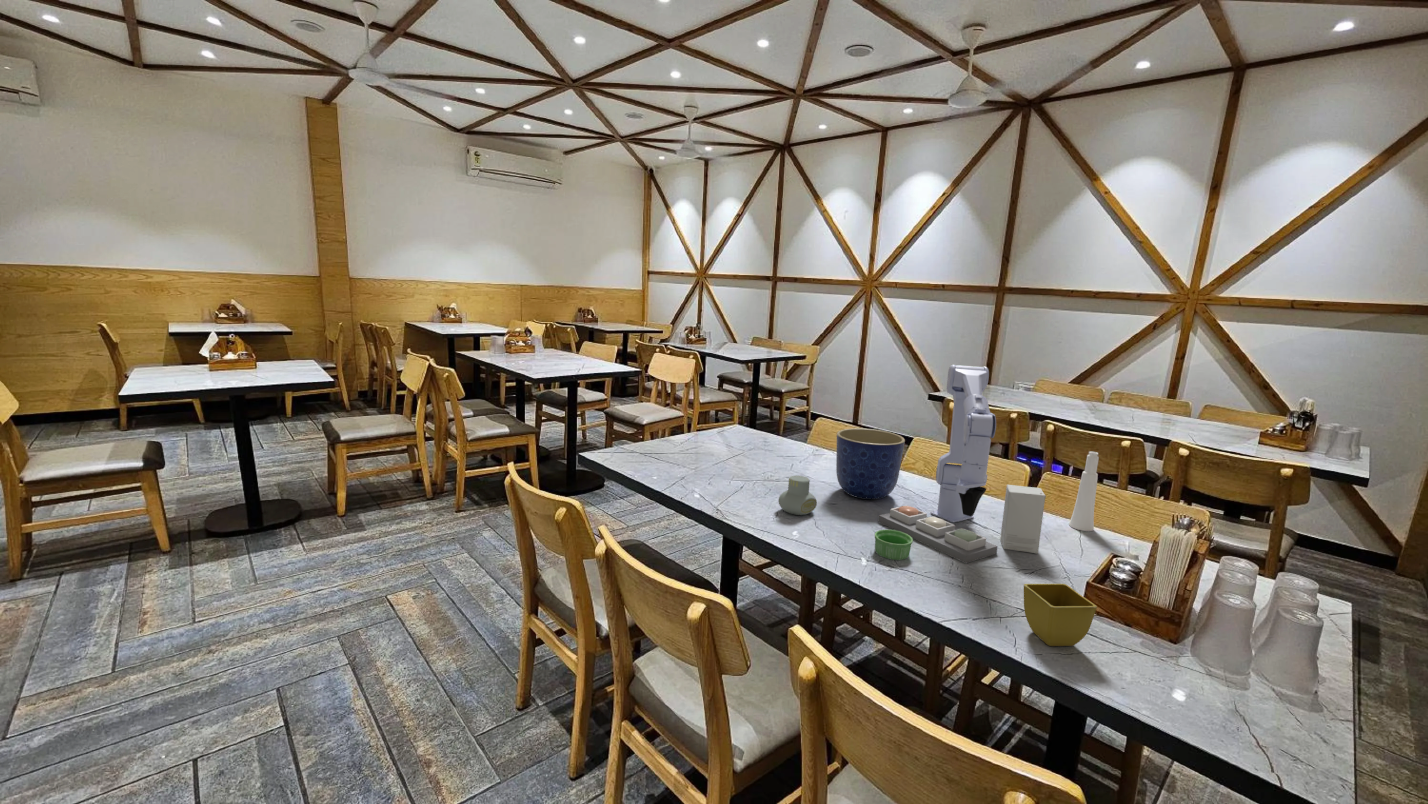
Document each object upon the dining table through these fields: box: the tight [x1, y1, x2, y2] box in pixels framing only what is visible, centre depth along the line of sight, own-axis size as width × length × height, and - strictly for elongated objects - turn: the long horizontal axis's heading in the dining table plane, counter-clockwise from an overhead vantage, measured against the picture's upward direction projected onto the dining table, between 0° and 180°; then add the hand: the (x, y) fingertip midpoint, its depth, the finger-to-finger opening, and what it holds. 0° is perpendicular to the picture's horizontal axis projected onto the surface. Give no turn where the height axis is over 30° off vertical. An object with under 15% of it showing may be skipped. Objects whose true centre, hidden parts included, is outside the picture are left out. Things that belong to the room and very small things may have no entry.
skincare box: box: [999, 484, 1047, 554], centre depth 149 cm, size 8×7×16 cm
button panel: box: [877, 505, 998, 564], centre depth 154 cm, size 12×28×4 cm, turn 31°
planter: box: [835, 427, 906, 500], centre depth 184 cm, size 21×21×19 cm
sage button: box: [955, 528, 977, 542], centre depth 146 cm, size 5×5×2 cm
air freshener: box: [777, 475, 818, 516], centre depth 168 cm, size 11×8×10 cm
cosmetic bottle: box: [1068, 451, 1100, 532], centre depth 164 cm, size 6×6×22 cm
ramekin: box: [874, 529, 914, 561], centre depth 143 cm, size 9×9×4 cm
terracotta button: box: [898, 505, 919, 516], centre depth 161 cm, size 5×5×2 cm
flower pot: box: [1023, 583, 1098, 647], centre depth 109 cm, size 9×9×9 cm
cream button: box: [925, 516, 947, 528], centre depth 154 cm, size 5×5×2 cm
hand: (968, 514), depth 145 cm, fingers closed
